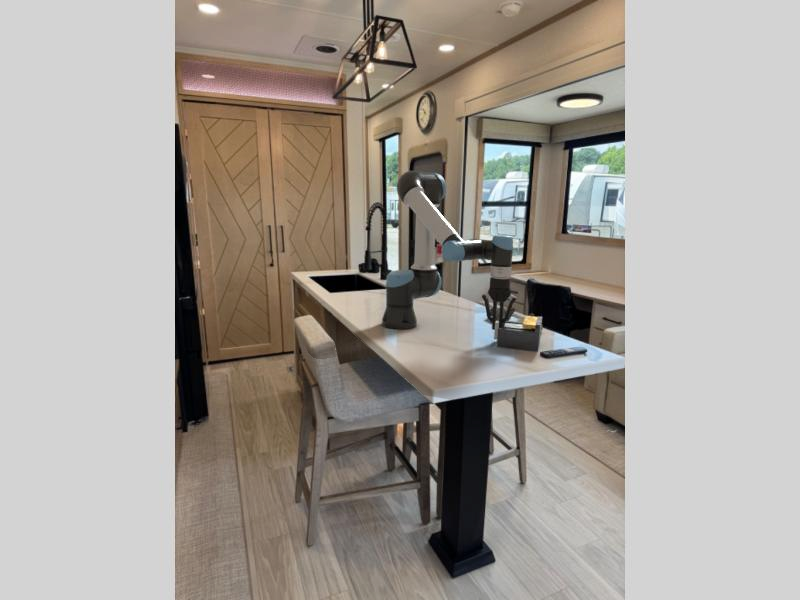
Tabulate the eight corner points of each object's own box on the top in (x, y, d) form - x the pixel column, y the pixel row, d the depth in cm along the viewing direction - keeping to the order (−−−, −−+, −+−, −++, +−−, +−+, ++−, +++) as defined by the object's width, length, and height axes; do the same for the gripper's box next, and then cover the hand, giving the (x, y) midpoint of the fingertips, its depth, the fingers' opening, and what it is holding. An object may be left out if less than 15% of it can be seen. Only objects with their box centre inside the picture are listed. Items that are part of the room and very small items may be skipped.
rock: (499, 324, 191) (510, 304, 191) (478, 314, 200) (488, 295, 200) (513, 333, 199) (524, 314, 200) (492, 323, 209) (502, 304, 209)
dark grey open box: (496, 346, 162) (498, 320, 160) (501, 337, 174) (503, 312, 172) (537, 351, 157) (540, 325, 155) (540, 341, 169) (542, 316, 167)
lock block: (502, 344, 165) (503, 326, 164) (504, 340, 171) (505, 322, 169) (530, 347, 162) (531, 329, 161) (531, 343, 168) (532, 325, 166)
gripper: (481, 277, 162) (477, 338, 167) (517, 280, 158) (512, 342, 163) (484, 274, 169) (481, 333, 174) (519, 277, 165) (514, 337, 170)
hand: (496, 338), depth 168 cm, fingers closed
